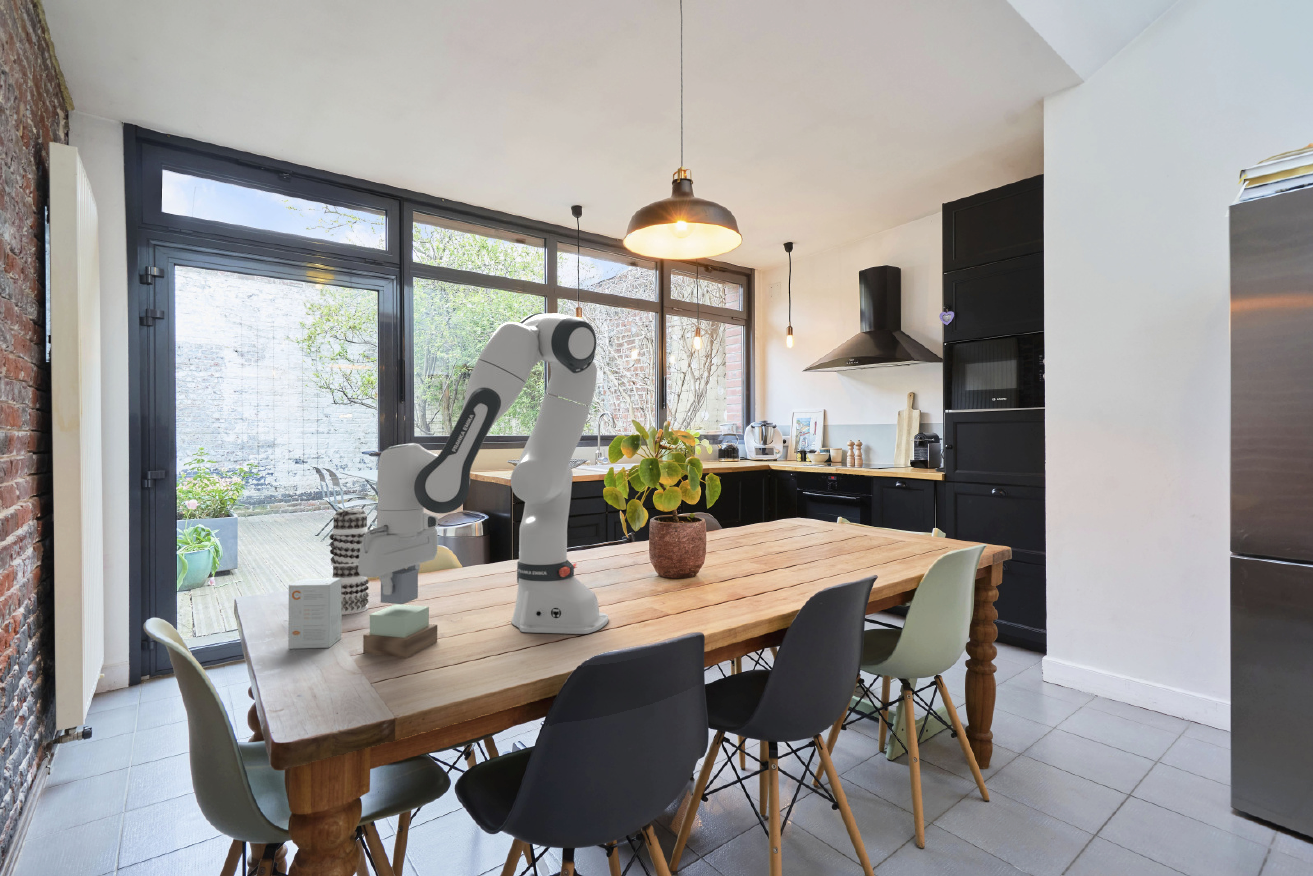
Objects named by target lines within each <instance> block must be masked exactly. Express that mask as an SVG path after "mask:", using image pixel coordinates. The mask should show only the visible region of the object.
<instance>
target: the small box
mask: <svg viewBox="0 0 1313 876" xmlns="http://www.w3.org/2000/svg"><path fill="white" fill-rule="evenodd" d="M342 618H343V617H342V613H341V578H332V577H329V578H327V577H326V578H302V579H301V578H300V580H297V581H295V582H293V583H290V584H289V585H288V624H287V625H288V640H287V641H288V649H289V650H292V649H293V650H296V649H321V648H324V649H325V648H326V649H329V648H331V647H332V646H333V645H335V644H336V643H337V642H338V641H339V640H341V639H342Z"/></svg>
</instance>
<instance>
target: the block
mask: <svg viewBox="0 0 1313 876" xmlns="http://www.w3.org/2000/svg"><path fill="white" fill-rule="evenodd" d="M390 579H391V581H392V584H394V585H395V593H393V594H390V595H384V594H383V585H382V583H381V582H380V603H385V604H392V605H394V604H401V605H405V604H407V603H409V602H411V601H414V600H417V599H419V572H418V569H407V568H404V569H401V570H397V571H394V572H392V577H391V578H390Z"/></svg>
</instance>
